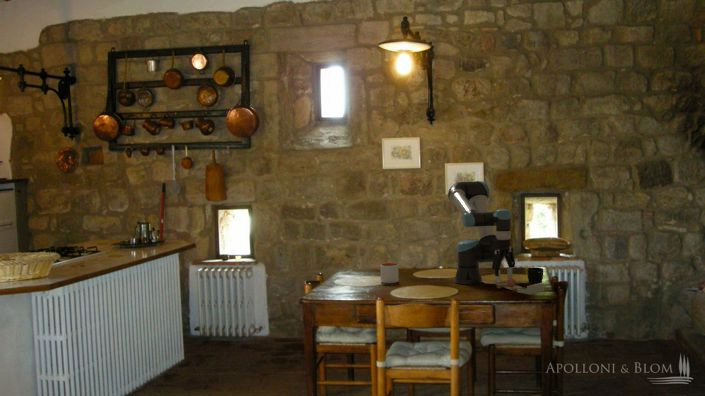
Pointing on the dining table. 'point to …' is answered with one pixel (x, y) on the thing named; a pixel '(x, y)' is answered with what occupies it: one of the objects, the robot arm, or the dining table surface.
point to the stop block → (532, 289)
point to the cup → (389, 273)
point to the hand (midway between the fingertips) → (504, 280)
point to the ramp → (505, 285)
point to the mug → (535, 275)
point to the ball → (511, 282)
